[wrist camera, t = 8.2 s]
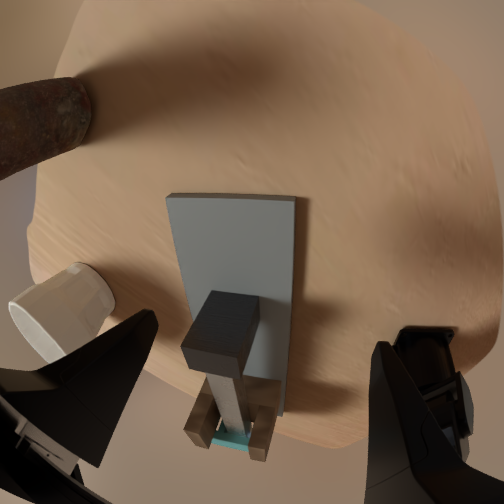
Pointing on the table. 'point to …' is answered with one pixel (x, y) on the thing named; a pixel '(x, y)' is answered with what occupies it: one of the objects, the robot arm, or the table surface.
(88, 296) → the cup
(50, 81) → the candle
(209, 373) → the shaft
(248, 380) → the bearing block
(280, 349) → the base board
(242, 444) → the spacer
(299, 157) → the table surface
